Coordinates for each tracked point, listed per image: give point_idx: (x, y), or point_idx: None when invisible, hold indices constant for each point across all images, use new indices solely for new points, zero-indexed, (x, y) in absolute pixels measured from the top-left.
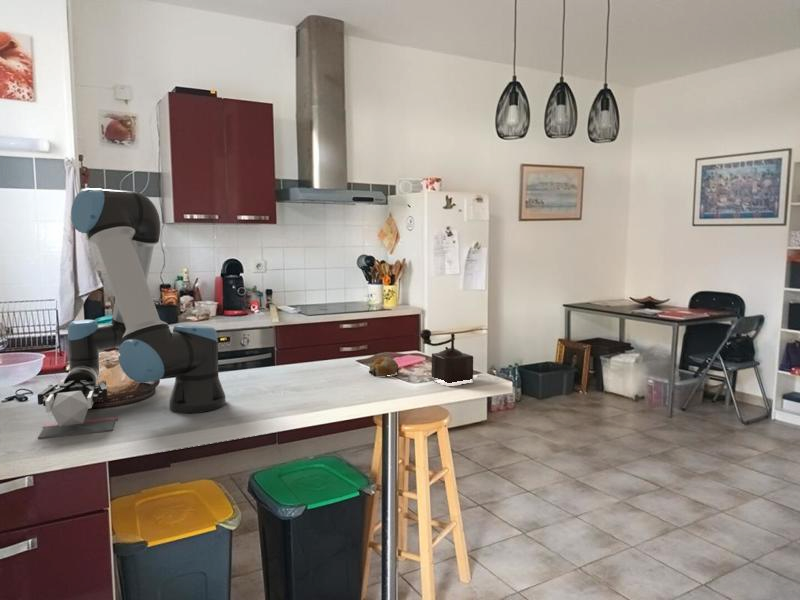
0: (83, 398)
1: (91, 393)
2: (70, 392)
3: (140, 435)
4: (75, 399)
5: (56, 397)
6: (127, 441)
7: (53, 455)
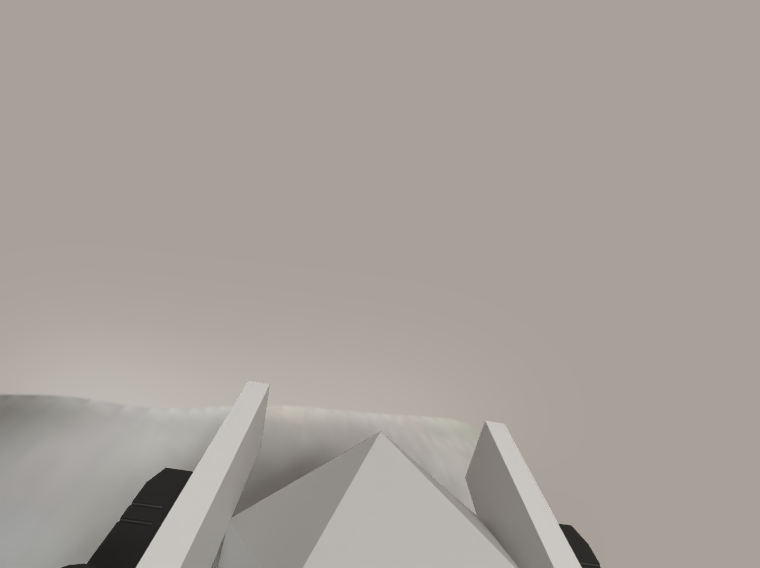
0: (270, 524)
1: (204, 468)
2: (398, 547)
3: (53, 446)
4: (338, 456)
5: (503, 550)
6: (145, 414)
7: (373, 414)
